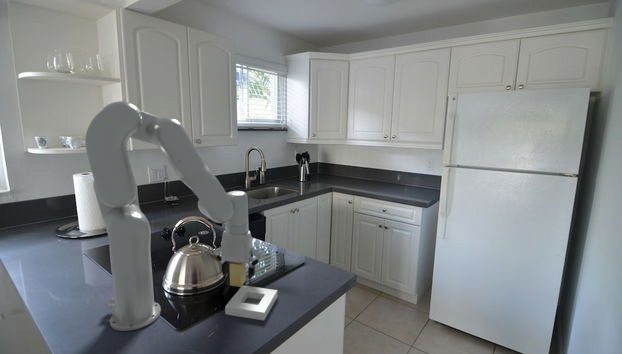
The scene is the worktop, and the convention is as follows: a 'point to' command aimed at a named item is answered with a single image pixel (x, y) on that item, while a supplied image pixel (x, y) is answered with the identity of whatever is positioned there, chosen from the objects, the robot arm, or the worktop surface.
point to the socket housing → (251, 302)
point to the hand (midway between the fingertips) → (238, 274)
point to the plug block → (237, 274)
